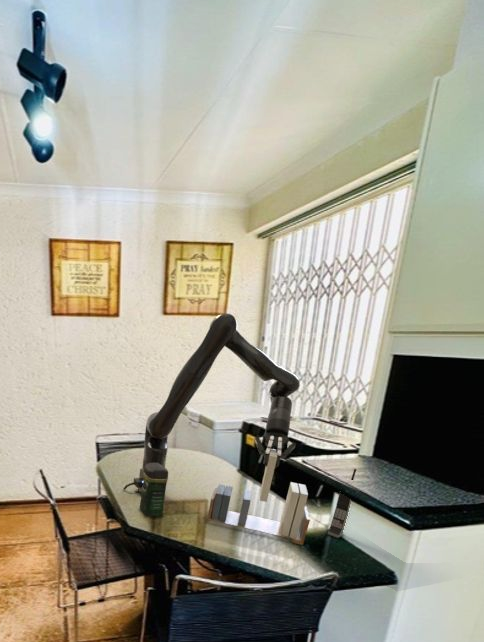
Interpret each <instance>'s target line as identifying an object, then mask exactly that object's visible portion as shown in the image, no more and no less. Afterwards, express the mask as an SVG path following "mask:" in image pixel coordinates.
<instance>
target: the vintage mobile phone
mask: <svg viewBox="0 0 484 642" xmlns="http://www.w3.org/2000/svg"><path fill="white" fill-rule="evenodd" d="M352 472H353V473H352V476H351V478H350V481H351V480H353V481H354V479H355V476H356V473H357V468H354V469H353V471H352ZM350 504H351V499H350V498H348V497H347V496H345V495H344V494H341V493H340V492H339V494H338V497H337V502H336V506H335V509H334V513H333V516H332V519H331V523H330V527H329V528H328V530H327V535H329V536H331V537H334V538H335V539H339V538H340V537H341V536H342V535H343V534H344V532H343V530H344V531H345V529H344V526H345V523H346V519H347V516H348V512H349V508H350ZM348 517H349V516H348ZM347 520H348V519H347ZM346 524H347V523H346ZM345 527H346V526H345Z"/></svg>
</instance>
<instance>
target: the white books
mask: <svg viewBox="0 0 484 642" xmlns="http://www.w3.org/2000/svg"><path fill="white" fill-rule="evenodd" d="M308 496H309V493H308V489H307V486H306V484H302V483H297V482H292V481H290V483H289V487H288V491H287V495H286V499H285V503H284V506H283V510H282V515H281V519H280V521H279V522H280V524H281V535H284V536H288V535H289V537H293V538H297V534H298V531H299V527H300V523H301V519H302V516H303V512H304V508H305V506H307V505H306V504H307V500H308Z"/></svg>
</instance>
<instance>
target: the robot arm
mask: <svg viewBox="0 0 484 642" xmlns="http://www.w3.org/2000/svg"><path fill="white" fill-rule="evenodd" d="M224 348H227V349H228V350H229V351H231V352H232V353H233V354H234V355H235V356H237V357H238V358H239V359H240V360H241V361H242V363H244V364H245V366H247V367H248V369H250V370H251V371H252V372H253V373H254V374H255V375H256V376H257V377H258V378H259V379H260V380H261V381H263V382H268V381H271V380H274V382H273V383H272V384H271V386H270V388H269V391H268V393H269V394H268V395H269V400H270V408H269V413H268V415H267V419H266V425H265V426H266V427H265V430H264V431H265V432H264V434H263V435H262V436H260V437H259V436H256V437H255V439H254V444H255V446H256V448H257V451H258V453H259V455H262V456H263V457H264V458H263V462H262V463H263V465H264V467H266V466H267V465H268V460H269V452H270V449H275V450H276V451H277V460H276V464H275V469H276V468H278V467H279V466H280V462H281V459H286V458H287V457H288V456H289V455H290V454H291V453H292V451H294V449H295V448H296V445H297V443H296V442H291V441H290V439H289V434H290V433H289V432H290V426H291V417H292V416H291V414H292V409H293V408H292V407H293V401H292V399H291V398H290V397H289V396H291V395H292V394H294V393H295V392H297V391H298V390H299V389H300V386H301V384H300V380H299V378H298V377H297V375H295V374H294V373H293V372H290V371H288V370H287V369H285V368H283V367H282V366H279V365H277V364H276V362H274V361H273V360H272V359H271V358H270V357H269V356H267V354H266V353H264V352H263V351H262V350H260V349H259V348H258V347H256V346H255V345H253V344H252V343H251V342H249V341H248V340H247V339H246V338H245V337H244V336H243V335H242V334H241V333H240V332H239V330H238V322H237V319H236V317H235V316H234V315H233V314H231V313H219V314H218V315H216V316H215V317H214V318H213V319H212V321H211V322H210V325H209V327H208V331H207V333H206V335H205V336H204V338H203V340H202V342H201V343H200V345H199V346H198V347H197V349H196V350H195V351H194V352H193V353H192V355H190V357H189V359H187V360H186V362H185V363H184V365H183V366H182V368H181V370H180V371H179V373H178V374H177V376H176V377H175V379H174V381H173V383H172V386H171V388H170V390H169V393H168V396H167V398H166V400H165V402H164V403H163V405H162V407H161V408H160V409H159V411H155V412H153V413H151V414H150V415H149V416H148V418H147V419H146V424H145V433H144V441H143V442H144V443H143V444H144V446H143V447H144V449H143V458H142V466H141V468H140V469H139V474H138V475H139V476H138V477H134V478H133V482H130V483H127V484H126V485H125V486H124V487H123V490H126V489H127V488H128V487H131V486H133V485H134V487H135V488H136V489H137V491H138V492H139V493H140V494H142V487H143V479H144V468H145V465H147V464H148V463H159V464H160V465H162V466H163V467H165V468H166V463H167V457H168V436H169V435H171V432H172V431H173V428H174V427H175V425H176V423H177V421H178V419H179V417H180V415H181V414H182V413H183V411H184V409H185V408H186V407H187V406H188V404H189V403H190V401H191V399H192V398H193V397H194V395H195V394H196V392H197V391H198V390H199V388H200V387H201V385H202V384H203V382H204V380H205V379H206V377H207V376H208V374H209V372H210V370H211V368H212V367H213V365H214V363H215V361H216V359H217V357H219V354H220V353H221V351H222V350H223V349H224ZM263 443H264V444H265V447H266V449H265V448H264V446H263ZM286 445H287V448H286V449H285V450H284V452H282V449H283V448H284V447H285V446H286Z"/></svg>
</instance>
